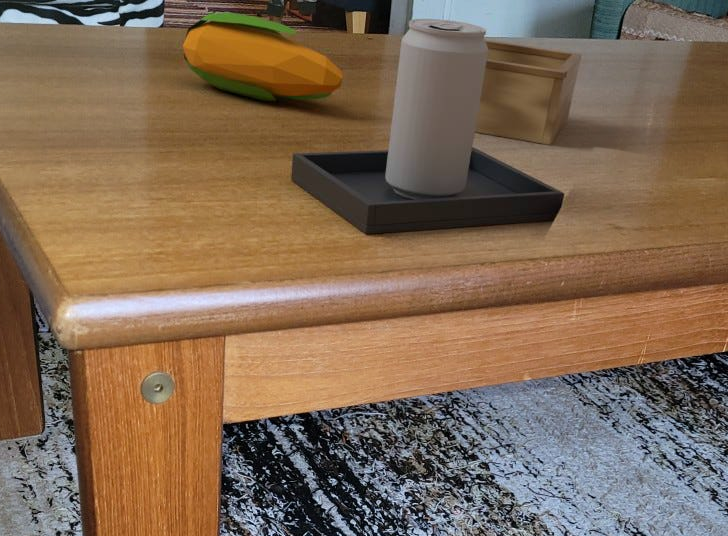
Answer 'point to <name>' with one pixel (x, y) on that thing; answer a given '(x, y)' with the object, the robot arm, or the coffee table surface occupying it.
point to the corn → (257, 59)
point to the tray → (397, 213)
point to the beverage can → (435, 108)
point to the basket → (526, 91)
